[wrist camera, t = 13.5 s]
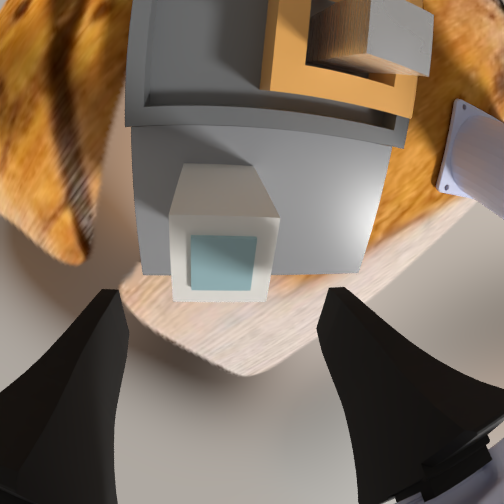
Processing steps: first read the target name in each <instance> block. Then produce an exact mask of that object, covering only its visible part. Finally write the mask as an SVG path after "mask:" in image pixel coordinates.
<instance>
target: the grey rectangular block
mask: <svg viewBox="0 0 504 504" xmlns="http://www.w3.org/2000/svg"><path fill="white" fill-rule="evenodd" d="M433 22H434V15H433V14H431V13H429V12H427V11H426V10H424V9H422V8H420V7H418V6H416V5H414V4H412V3H410V2H408V1H406V0H341V1H339V2H337V3H335V4H333V5H331V6H330V7H328V8H326V9H324V10H322V11H320V12H319V13H317V14H315V15H313V16H312V17H311V24H310V33H309V42H308V51H307V60H306V62H308V63H313V64H318V65H323V66H328V67H332V68H337V69H341V70H345V71H349V72H353V73H386V74H403V75H415V76H425V77H429V72H430V63H431V53H432V40H433Z"/></svg>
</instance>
